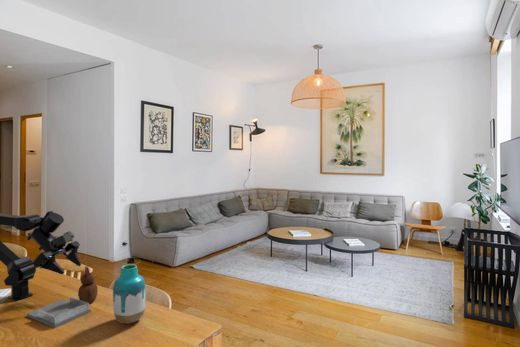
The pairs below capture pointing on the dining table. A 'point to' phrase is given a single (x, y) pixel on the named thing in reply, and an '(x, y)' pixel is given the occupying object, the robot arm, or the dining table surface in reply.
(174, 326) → the dining table surface
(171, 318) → the dining table surface
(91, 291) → the wooden figurine
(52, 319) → the grey shallow rectangular tray
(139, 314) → the vase
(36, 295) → the dining table surface
